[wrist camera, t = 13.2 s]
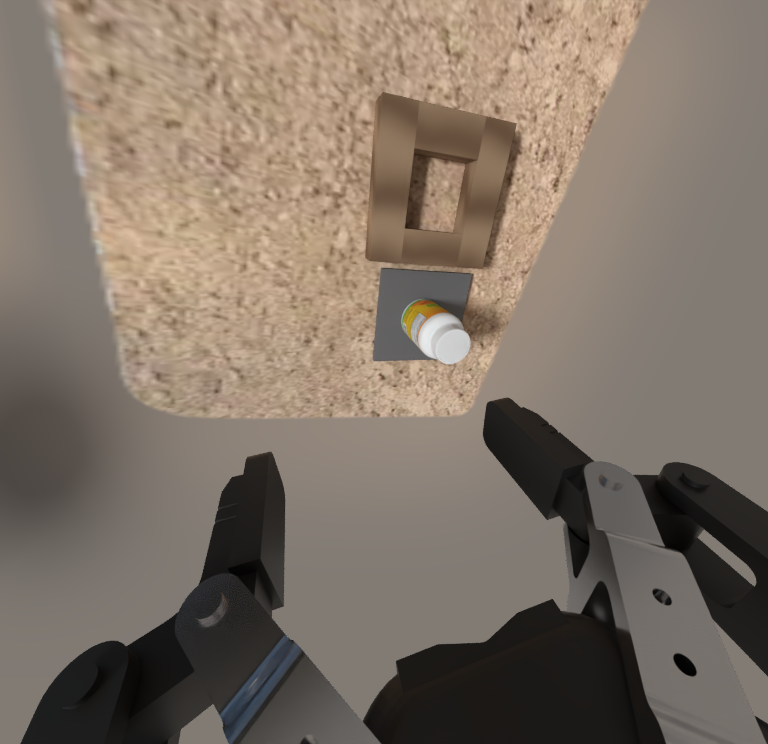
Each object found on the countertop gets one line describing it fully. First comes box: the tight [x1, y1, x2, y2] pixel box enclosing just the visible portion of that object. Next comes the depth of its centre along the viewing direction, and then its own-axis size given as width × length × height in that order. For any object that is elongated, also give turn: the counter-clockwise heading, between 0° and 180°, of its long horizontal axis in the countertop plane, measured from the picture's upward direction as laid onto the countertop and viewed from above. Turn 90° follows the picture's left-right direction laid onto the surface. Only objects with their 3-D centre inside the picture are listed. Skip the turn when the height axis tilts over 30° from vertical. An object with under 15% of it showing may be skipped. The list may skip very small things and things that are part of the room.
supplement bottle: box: [401, 299, 471, 364], centre depth 35 cm, size 5×5×10 cm
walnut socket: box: [365, 92, 517, 269], centre depth 32 cm, size 14×14×2 cm
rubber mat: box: [373, 268, 472, 361], centre depth 40 cm, size 12×12×1 cm
